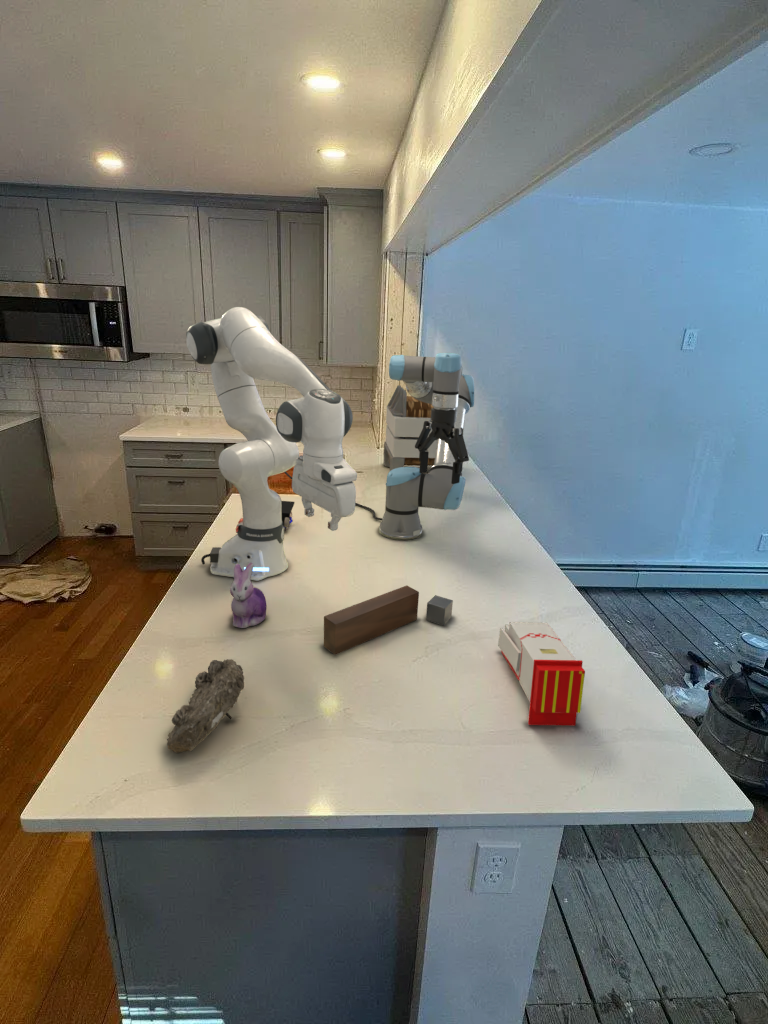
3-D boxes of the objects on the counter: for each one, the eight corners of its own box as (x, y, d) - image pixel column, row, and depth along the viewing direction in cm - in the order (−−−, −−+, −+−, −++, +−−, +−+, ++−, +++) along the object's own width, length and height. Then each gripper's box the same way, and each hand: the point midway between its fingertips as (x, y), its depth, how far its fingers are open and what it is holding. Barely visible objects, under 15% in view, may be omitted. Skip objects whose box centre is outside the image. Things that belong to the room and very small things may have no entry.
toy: (544, 607, 134) (594, 667, 105) (539, 659, 137) (586, 732, 108) (493, 606, 134) (529, 666, 105) (489, 658, 137) (523, 731, 107)
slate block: (425, 620, 145) (427, 602, 144) (433, 611, 149) (435, 594, 148) (443, 625, 143) (445, 608, 141) (451, 617, 147) (453, 600, 145)
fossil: (192, 660, 117) (244, 628, 112) (224, 691, 120) (276, 661, 115) (142, 746, 98) (202, 712, 93) (182, 779, 101) (242, 748, 96)
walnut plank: (323, 646, 132) (323, 616, 129) (405, 612, 148) (406, 585, 146) (335, 655, 129) (335, 624, 126) (417, 619, 145) (419, 591, 142)
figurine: (235, 633, 135) (232, 576, 130) (225, 613, 144) (222, 559, 139) (273, 625, 139) (272, 570, 134) (262, 606, 148) (260, 553, 143)
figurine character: (290, 537, 196) (295, 517, 209) (289, 518, 192) (295, 499, 206) (270, 536, 195) (277, 517, 209) (269, 517, 192) (276, 498, 206)
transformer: (382, 463, 289) (386, 382, 275) (445, 464, 293) (451, 384, 279) (390, 482, 257) (394, 392, 243) (460, 483, 261) (468, 394, 247)
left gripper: (285, 454, 131) (284, 510, 136) (338, 479, 117) (335, 540, 122) (308, 451, 135) (307, 505, 140) (362, 475, 121) (358, 534, 126)
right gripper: (406, 402, 172) (402, 469, 180) (468, 416, 155) (461, 490, 162) (423, 400, 177) (419, 466, 184) (485, 413, 159) (478, 485, 167)
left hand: (320, 522), depth 131 cm, fingers open, 8 cm apart
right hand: (438, 477), depth 173 cm, fingers open, 13 cm apart
